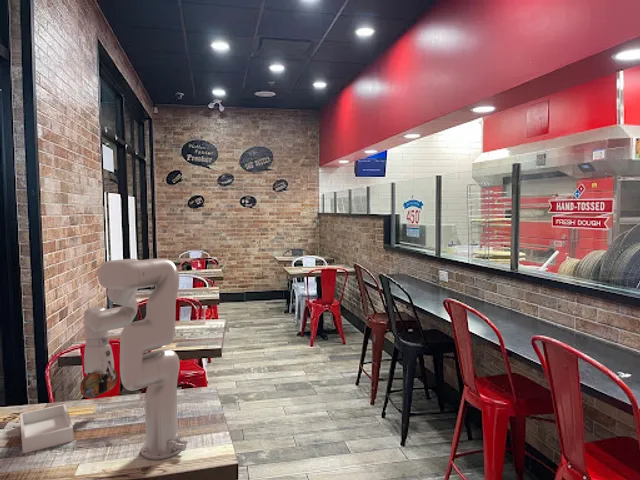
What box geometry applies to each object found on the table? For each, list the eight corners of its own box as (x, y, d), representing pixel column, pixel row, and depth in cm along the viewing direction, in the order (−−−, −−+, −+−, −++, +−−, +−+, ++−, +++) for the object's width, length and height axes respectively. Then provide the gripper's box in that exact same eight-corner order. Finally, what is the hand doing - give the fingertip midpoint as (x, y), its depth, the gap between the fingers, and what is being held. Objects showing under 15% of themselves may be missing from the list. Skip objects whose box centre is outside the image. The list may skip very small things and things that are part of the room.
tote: (20, 426, 162) (19, 413, 162) (65, 415, 170) (65, 403, 170) (22, 453, 144) (22, 439, 144) (73, 440, 152) (73, 427, 152)
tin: (85, 402, 162) (84, 378, 162) (79, 400, 164) (78, 377, 163) (118, 386, 177) (117, 364, 176) (112, 385, 178) (111, 363, 177)
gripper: (122, 340, 170) (124, 390, 171) (88, 337, 175) (91, 385, 176) (106, 346, 163) (109, 397, 164) (71, 342, 168) (74, 392, 169)
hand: (99, 391), depth 170 cm, fingers closed on tin, 2 cm apart
